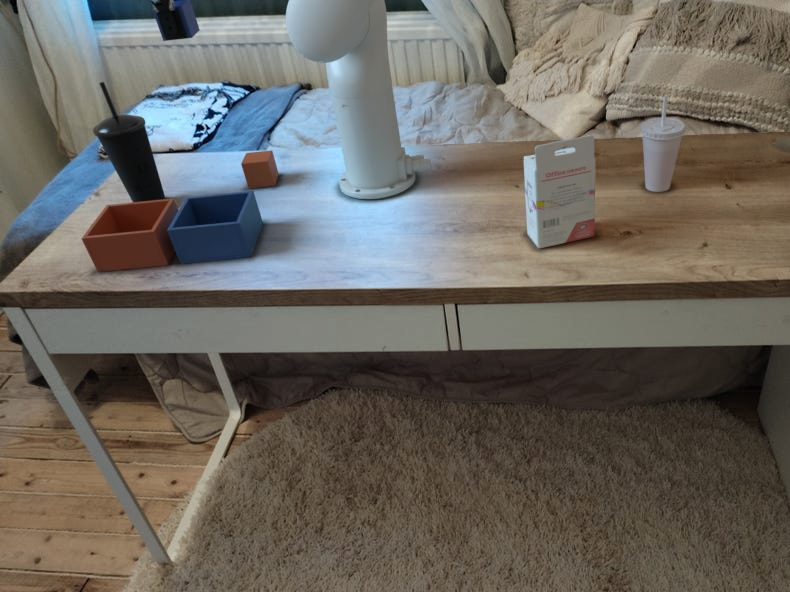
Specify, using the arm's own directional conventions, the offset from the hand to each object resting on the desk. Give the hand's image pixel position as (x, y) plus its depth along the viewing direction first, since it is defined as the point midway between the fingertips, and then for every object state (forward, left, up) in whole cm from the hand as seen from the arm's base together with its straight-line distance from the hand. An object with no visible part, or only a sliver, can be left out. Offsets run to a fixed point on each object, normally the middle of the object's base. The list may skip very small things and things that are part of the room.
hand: (181, 32), depth 110 cm
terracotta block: (-7, +4, -24) cm, 25 cm away
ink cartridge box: (-54, +32, -24) cm, 67 cm away
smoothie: (-71, +20, -24) cm, 78 cm away
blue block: (0, 0, 0) cm, 0 cm away
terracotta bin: (+7, +24, -24) cm, 35 cm away
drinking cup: (+11, +9, -24) cm, 28 cm away
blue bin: (-5, +24, -24) cm, 34 cm away
